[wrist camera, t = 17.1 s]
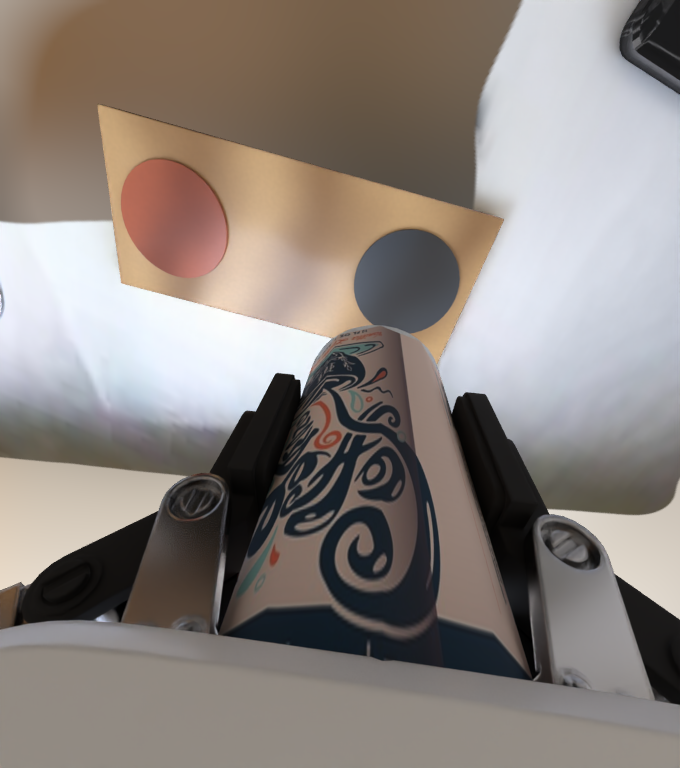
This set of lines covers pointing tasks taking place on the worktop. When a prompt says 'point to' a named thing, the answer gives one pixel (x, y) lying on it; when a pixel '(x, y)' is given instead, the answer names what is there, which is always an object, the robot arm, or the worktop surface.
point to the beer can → (376, 522)
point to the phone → (654, 40)
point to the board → (285, 235)
